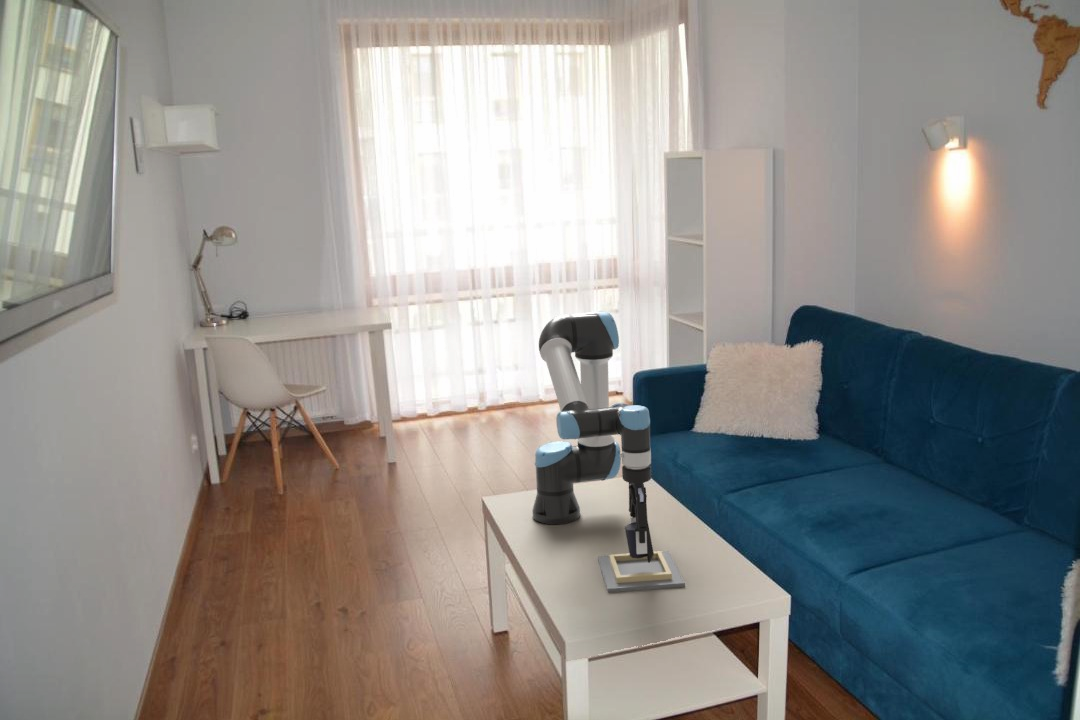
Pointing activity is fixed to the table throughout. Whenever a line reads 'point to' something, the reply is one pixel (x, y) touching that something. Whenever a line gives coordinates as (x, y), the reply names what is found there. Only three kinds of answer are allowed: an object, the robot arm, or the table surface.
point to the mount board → (640, 572)
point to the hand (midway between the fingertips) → (639, 546)
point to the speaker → (632, 542)
